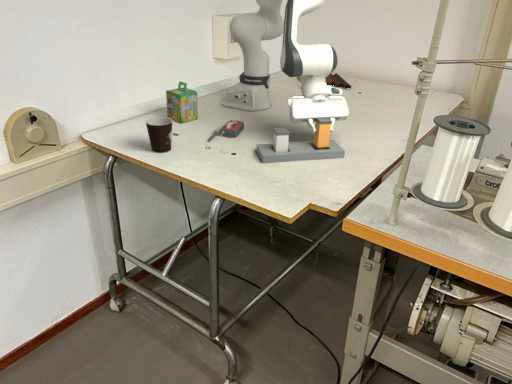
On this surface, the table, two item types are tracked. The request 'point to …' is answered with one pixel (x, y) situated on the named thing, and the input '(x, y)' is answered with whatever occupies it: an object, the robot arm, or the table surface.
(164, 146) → the coffee mug
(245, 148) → the table surface
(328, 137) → the orange plug
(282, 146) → the white plug
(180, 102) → the chalk box
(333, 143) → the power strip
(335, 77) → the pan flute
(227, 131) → the walkie-talkie
